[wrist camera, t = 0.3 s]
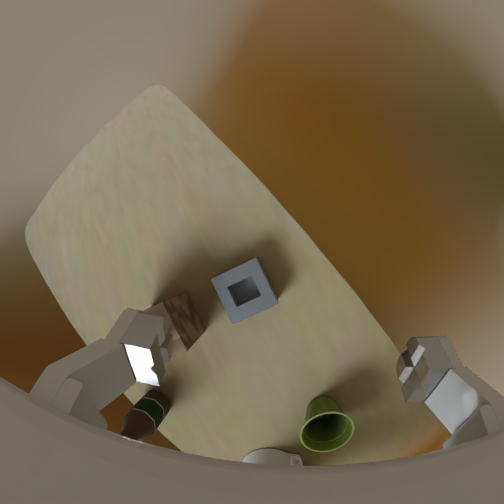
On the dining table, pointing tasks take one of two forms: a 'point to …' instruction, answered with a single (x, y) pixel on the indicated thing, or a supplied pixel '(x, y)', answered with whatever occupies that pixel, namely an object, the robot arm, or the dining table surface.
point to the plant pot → (325, 426)
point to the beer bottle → (145, 416)
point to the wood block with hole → (180, 321)
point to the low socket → (245, 290)
